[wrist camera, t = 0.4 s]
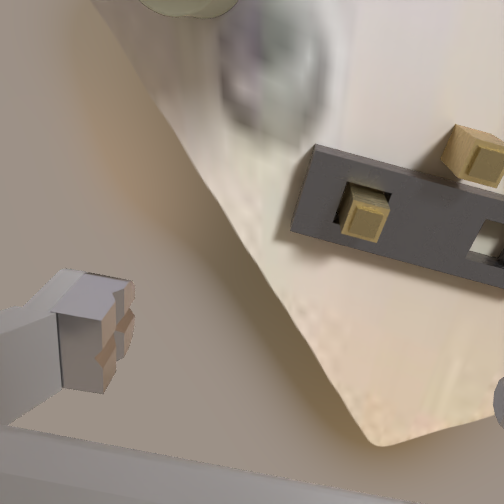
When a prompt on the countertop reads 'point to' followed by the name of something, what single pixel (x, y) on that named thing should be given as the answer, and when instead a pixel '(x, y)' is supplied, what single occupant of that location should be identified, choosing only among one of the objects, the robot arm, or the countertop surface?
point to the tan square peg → (363, 212)
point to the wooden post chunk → (475, 156)
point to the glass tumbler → (190, 7)
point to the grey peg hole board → (403, 214)
